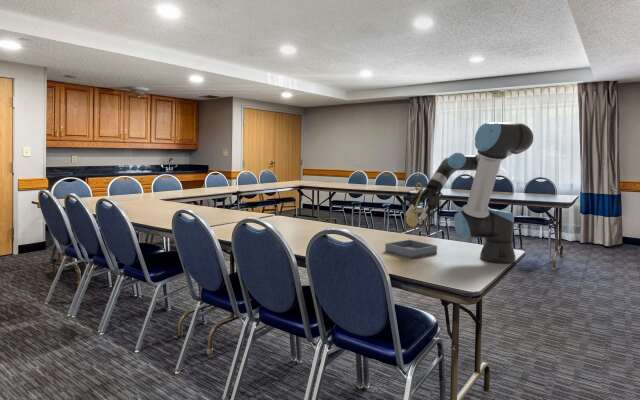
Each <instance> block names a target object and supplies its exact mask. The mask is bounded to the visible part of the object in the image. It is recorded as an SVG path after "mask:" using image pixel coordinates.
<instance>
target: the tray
mask: <svg viewBox="0 0 640 400" xmlns="http://www.w3.org/2000/svg"><path fill="white" fill-rule="evenodd" d="M384 249H385V252H386V253H390V254H394V255H398V256H401V257H406V258H409V259H416V258H423V257H426V256H432V255H436V254H437V251H438V245H436V244H432V243H427V242H422V241H417V240H412V239H404V240H400V241H399V240H398V241H393V242H386V243H385V248H384Z"/></svg>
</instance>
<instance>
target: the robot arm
mask: <svg viewBox="0 0 640 400" xmlns="http://www.w3.org/2000/svg"><path fill="white" fill-rule="evenodd" d="M533 142H534V133H533V131H532V130H531V128H530V127H529V126H528V125H526V124H524V123H520V122H501V121H500V122H499V121H491V122H485V123H482V124H481V125H480V126H479V127H478V128H477V131H476V133H475V136H474V146H475V148H476V150H477V154H476V155H465V154H463V153H462V152H459V151H458V152H454V153H452V154H451V155H449V157H445V158H444V159H443V160H442V161H441V162H440V165H439V166H438V167H437V169H436V171H435V172H434V173H433V174H432V176H431V178H430V180H429V181H428V182H427V184H426V188H424V189H423V192H422V195H421V198H420V200H419V202H418V205H419V204H421V203H422V202H423V201H424V200H425V201H426V200H427V199H429V200H428V205H427V206H426V207H425V208H424V209H425V210H424V211H423V213H422V214H421V215H420V216H419V218H420V217H421V218H422V219H421V218H420V219H421V220H423V221H424V219H425V218H426V219H427V216H428V215H429V214H430V213H431V212H430V211H433V210H436V209H437V208H438V206H439V203H440V200H441V198H442V196H443V195H444V194H443V193H442V192H441V191H442V189H443V187H445V185H446V183H447V182H448V181H449V179H450V177H451V176H452V175H453V174H454V173H455V172H458V171H475V174H474V176H473V182H472V185H471V189H470V193H469V196H468V199H467V204H464V205H463V206H462V208H461V211H458V212H455V214H454V217H453V226H454V229H455V232H456V233H457V235H458V236H459V238H461V239H462V238H463V239H465V238H466V239H472V238H473V239H477V238H478V239H479V238H480V239H483V238H484V241H485V242H484V244H483V246H482V248H481V252H480V253H479V254H480V256H479V258H480V259H481V260H483V261H486V262H491V263H494V264H495V263H497V264H511V263H512V264H513V263H515V262H516V257H517V256H516V253H515V250H514V246H513V239H514V238H513V237H514V236H513V235H514V224H515V218H514V216H515V215H514V213H513V212H510V211H505V210H500V209H495V208H488V206H489V203H490V200H491V197H492V193H493V191H494V186H495V183H496V181H497V180H496V179H497V176H498V172H499V169H500V166H501V163H502V161H504V160H505V159H507V158H508V157H510V156H511V155H519V154H521V153H523V152H526V151H527V150H528V149H530V147H531V146H533ZM420 192H421V188H419V190H418V191H417V193H416V194H415V195H414V196H413V197H412V198H411V199H410V200H409V201H408V204H409V207H408V208H407V211H406V212H405V216H406V217H407V215H408V214H410V213H414V211H412V210H414V208H415V205H416V202H417V200H418V197H419V195H420Z"/></svg>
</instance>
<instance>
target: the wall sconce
mask: <svg viewBox="0 0 640 400" xmlns="http://www.w3.org/2000/svg"><path fill="white" fill-rule="evenodd" d="M419 186H420V188H419ZM414 189H415V191H416V192H419V190H420V189H421V192H420V195H419V197H418V200H417V202H416V205H415V208H414V210H412V211H413V212H412V213H410V214H408V215H407V216H406V218H405V222H406V224H407V225H408V226H409V227H411V228H413V230H414V231H415V232H418V233H420V232H421V231H423V230H424V229H425V227H426V223H427V217H426V218H425V219H424V220H423V224H422V227H421V228H420V229H417V228H416V226H417V225H418V224H419V223H421V222H422V221H421V220H422V218H421V217H420V216H421V214H422V213H423V211H424V210H425V208H417V207H418V205H419V204H418V202H419V200H420V198H421V195H422V192H423V190H424V187H423V184H422V183H421V182H417V183H416V184H415V187H414ZM432 212H433V210H431V211H430V213H432ZM416 213H418V214H416ZM419 219H420V220H419Z"/></svg>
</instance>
